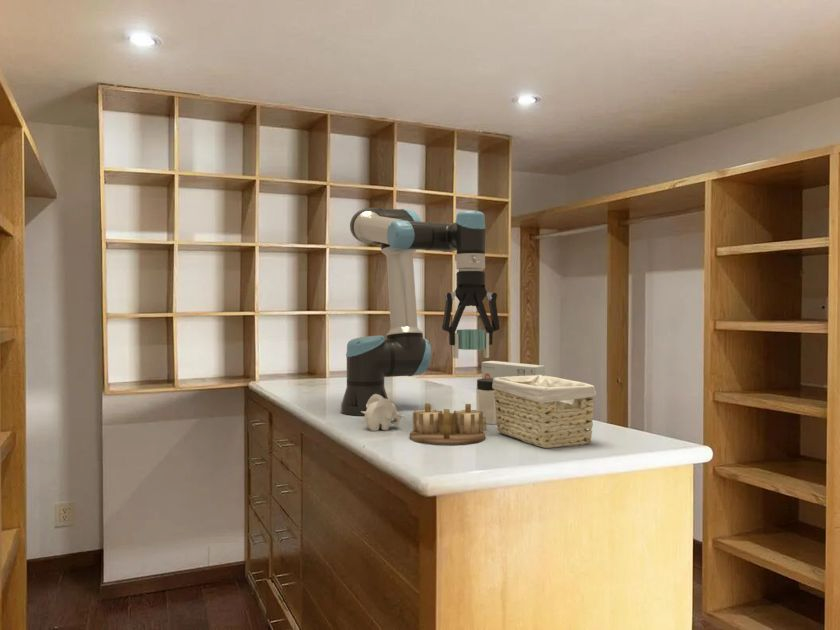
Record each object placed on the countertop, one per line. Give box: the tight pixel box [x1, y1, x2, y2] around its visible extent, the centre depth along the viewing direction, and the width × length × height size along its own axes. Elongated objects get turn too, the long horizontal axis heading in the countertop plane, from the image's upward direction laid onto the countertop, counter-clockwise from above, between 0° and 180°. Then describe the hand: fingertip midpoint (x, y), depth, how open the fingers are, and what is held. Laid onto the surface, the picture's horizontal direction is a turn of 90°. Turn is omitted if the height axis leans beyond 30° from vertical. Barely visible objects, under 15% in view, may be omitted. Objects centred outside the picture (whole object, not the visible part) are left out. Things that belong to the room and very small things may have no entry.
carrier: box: [409, 403, 486, 446], centre depth 174 cm, size 19×19×8 cm
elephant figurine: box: [361, 394, 407, 432], centre depth 186 cm, size 10×12×9 cm
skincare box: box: [481, 360, 546, 379], centre depth 207 cm, size 21×6×16 cm, turn 43°
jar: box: [475, 378, 497, 425], centre depth 197 cm, size 9×8×12 cm
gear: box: [456, 328, 486, 351], centre depth 182 cm, size 8×8×5 cm
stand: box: [483, 417, 487, 431], centre depth 186 cm, size 6×6×3 cm
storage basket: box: [492, 375, 597, 449], centre depth 172 cm, size 24×16×15 cm
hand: (470, 357), depth 182 cm, fingers closed on gear, 8 cm apart
